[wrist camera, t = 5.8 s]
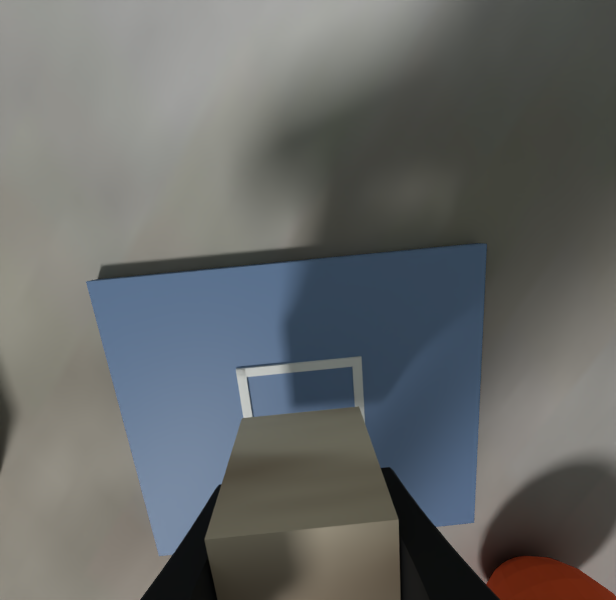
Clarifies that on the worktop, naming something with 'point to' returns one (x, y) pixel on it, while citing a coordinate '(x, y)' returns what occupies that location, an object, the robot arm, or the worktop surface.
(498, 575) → the clementine
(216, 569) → the maple block
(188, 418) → the board
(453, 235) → the worktop surface
